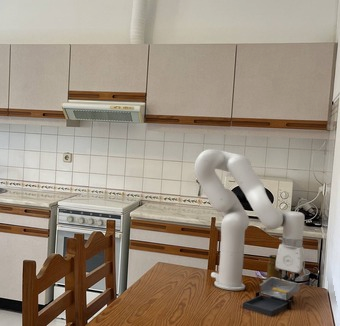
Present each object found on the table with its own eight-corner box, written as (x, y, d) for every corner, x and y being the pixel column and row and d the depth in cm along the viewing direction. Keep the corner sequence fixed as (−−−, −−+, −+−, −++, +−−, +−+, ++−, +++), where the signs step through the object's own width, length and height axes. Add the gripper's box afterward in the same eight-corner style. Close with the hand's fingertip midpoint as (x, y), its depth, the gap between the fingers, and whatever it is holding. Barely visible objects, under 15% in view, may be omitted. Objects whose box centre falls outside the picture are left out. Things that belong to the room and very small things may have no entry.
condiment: (274, 280, 224) (276, 254, 223) (288, 285, 216) (290, 258, 215) (261, 281, 221) (263, 254, 220) (274, 286, 213) (276, 259, 212)
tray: (242, 307, 183) (243, 302, 183) (260, 299, 194) (261, 294, 194) (271, 316, 176) (271, 311, 176) (288, 307, 186) (288, 302, 186)
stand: (254, 300, 193) (255, 291, 193) (266, 294, 201) (267, 287, 201) (289, 309, 184) (289, 301, 184) (300, 304, 191) (300, 295, 191)
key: (271, 289, 194) (271, 288, 194) (274, 288, 196) (274, 286, 196) (285, 293, 191) (285, 292, 190) (288, 291, 192) (288, 290, 192)
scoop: (259, 293, 193) (259, 284, 192) (277, 280, 205) (277, 272, 204) (287, 301, 185) (288, 292, 185) (305, 287, 197) (305, 278, 196)
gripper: (269, 239, 201) (265, 284, 202) (308, 247, 190) (304, 294, 191) (276, 237, 206) (273, 281, 207) (315, 245, 195) (311, 290, 196)
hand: (288, 287), depth 199 cm, fingers closed on scoop
